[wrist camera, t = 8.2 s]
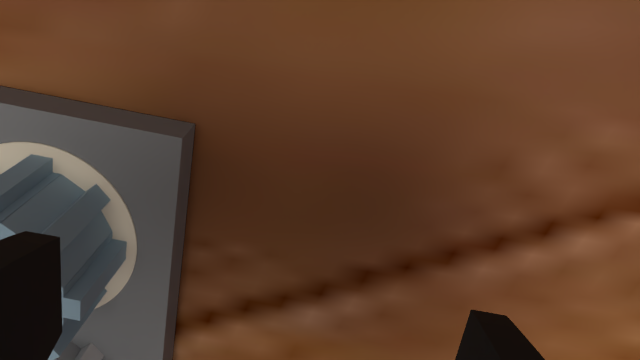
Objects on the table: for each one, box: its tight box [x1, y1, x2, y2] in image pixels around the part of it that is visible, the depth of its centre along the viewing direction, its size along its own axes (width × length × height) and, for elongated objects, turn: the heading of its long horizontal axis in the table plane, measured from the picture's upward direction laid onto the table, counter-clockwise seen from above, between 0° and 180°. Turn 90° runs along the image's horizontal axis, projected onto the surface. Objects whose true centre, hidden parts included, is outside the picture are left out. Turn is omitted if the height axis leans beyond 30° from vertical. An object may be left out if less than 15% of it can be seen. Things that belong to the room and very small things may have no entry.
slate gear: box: [0, 154, 127, 360], centre depth 19 cm, size 6×6×4 cm
